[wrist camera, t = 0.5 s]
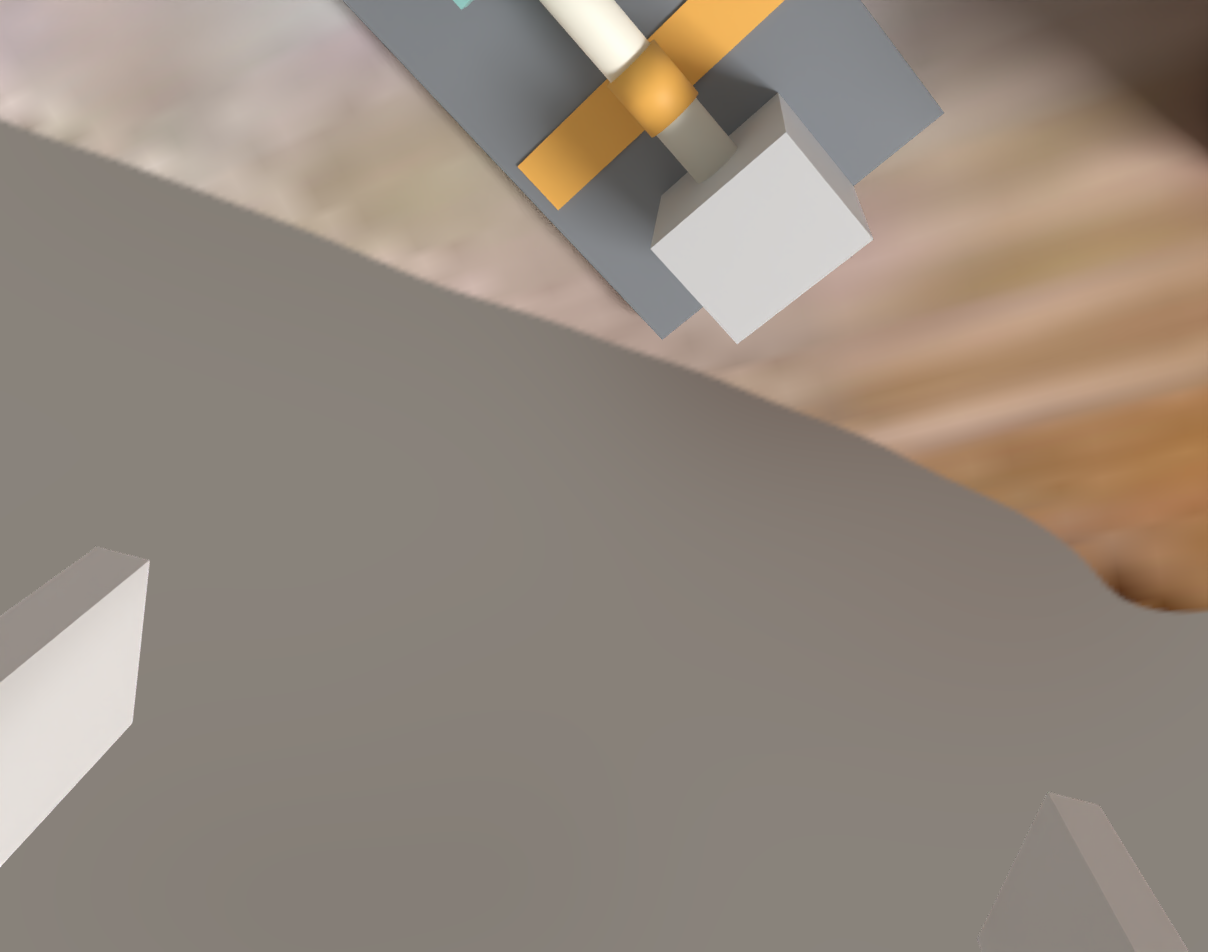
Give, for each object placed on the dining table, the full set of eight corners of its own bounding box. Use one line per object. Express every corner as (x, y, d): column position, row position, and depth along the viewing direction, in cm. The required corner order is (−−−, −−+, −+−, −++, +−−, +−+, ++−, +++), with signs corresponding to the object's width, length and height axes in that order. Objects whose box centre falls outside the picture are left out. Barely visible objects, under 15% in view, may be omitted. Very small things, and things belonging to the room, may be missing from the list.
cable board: (507, -473, 27) (443, -568, 21) (936, 103, 34) (980, 156, 28) (249, -121, 32) (139, -117, 26) (664, 323, 39) (652, 409, 33)
